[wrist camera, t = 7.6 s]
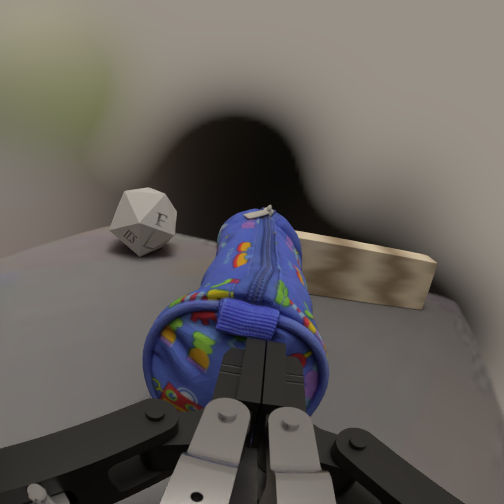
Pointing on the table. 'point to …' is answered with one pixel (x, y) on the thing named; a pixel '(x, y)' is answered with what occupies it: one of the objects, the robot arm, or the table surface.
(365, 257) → the birch board
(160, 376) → the pencil case
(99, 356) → the table surface
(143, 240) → the die
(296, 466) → the robot arm
